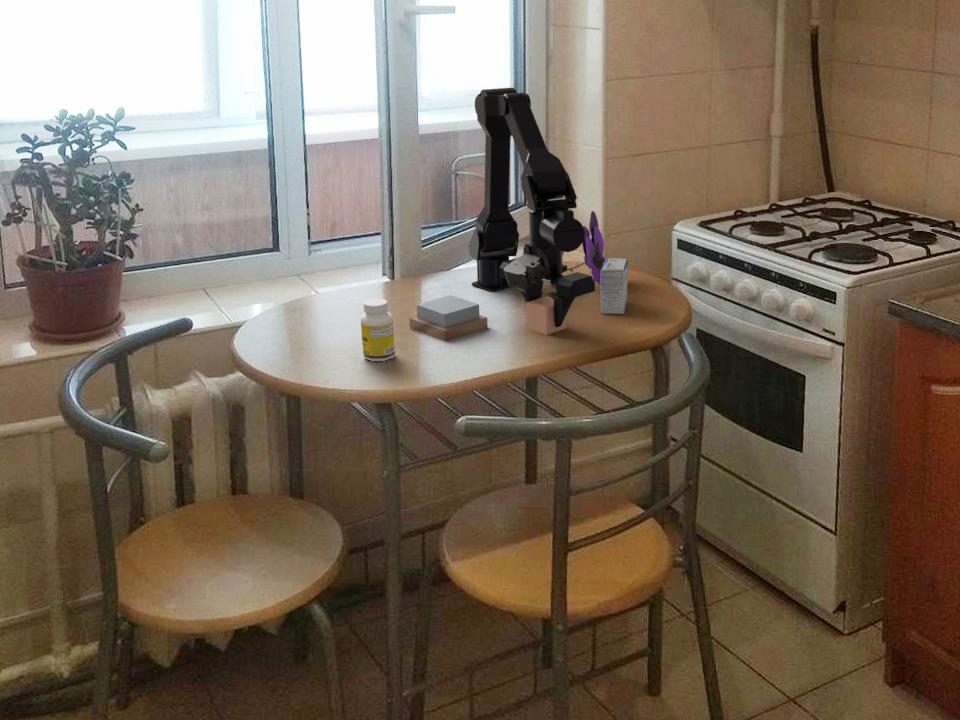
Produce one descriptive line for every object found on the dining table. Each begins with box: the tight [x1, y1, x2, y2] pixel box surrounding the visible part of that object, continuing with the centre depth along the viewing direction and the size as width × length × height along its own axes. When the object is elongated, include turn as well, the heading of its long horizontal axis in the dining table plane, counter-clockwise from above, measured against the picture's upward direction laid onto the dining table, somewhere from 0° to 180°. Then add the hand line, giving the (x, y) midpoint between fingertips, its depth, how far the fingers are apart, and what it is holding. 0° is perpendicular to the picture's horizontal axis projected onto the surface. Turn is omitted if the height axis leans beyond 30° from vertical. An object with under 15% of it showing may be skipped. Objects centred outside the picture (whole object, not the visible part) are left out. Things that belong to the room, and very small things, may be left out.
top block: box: [416, 294, 480, 328], centre depth 201 cm, size 8×8×2 cm
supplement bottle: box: [360, 298, 396, 362], centre depth 187 cm, size 5×5×10 cm
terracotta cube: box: [525, 295, 567, 336], centre depth 200 cm, size 5×5×5 cm
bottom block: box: [409, 314, 489, 342], centre depth 202 cm, size 10×10×2 cm
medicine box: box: [600, 257, 629, 315], centre depth 209 cm, size 8×4×9 cm, turn 168°
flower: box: [552, 210, 606, 293], centre depth 222 cm, size 15×15×14 cm
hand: (546, 322), depth 200 cm, fingers open, 6 cm apart
